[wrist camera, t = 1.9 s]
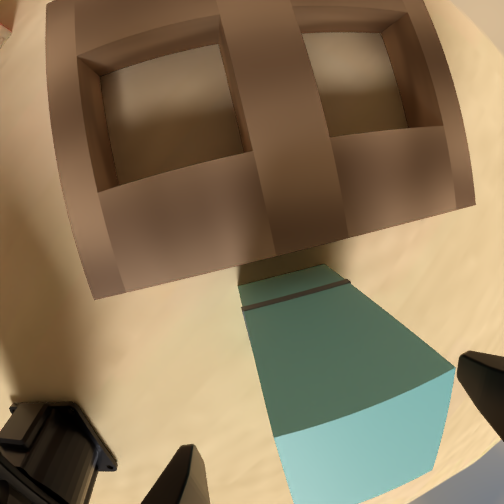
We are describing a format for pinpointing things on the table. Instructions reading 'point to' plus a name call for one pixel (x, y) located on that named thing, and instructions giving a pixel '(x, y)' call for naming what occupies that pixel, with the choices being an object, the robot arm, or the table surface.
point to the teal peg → (343, 387)
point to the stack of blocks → (4, 34)
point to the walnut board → (248, 137)
